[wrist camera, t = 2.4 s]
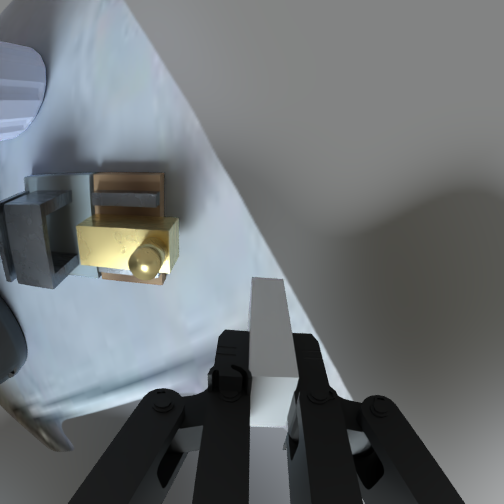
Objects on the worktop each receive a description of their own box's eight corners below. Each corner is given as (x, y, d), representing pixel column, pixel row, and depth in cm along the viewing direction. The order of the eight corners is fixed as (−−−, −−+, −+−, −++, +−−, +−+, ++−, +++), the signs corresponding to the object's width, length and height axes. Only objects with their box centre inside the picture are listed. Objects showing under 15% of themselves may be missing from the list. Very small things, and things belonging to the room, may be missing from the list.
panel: (43, 265, 25) (36, 270, 24) (31, 175, 22) (24, 177, 21) (165, 278, 26) (162, 285, 25) (164, 172, 23) (159, 175, 21)
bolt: (97, 249, 23) (66, 278, 18) (94, 213, 22) (60, 236, 17) (178, 255, 23) (162, 289, 18) (178, 217, 22) (159, 243, 17)
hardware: (34, 259, 24) (7, 281, 20) (25, 190, 21) (-8, 204, 17) (161, 272, 24) (145, 301, 20) (159, 191, 22) (139, 206, 18)
